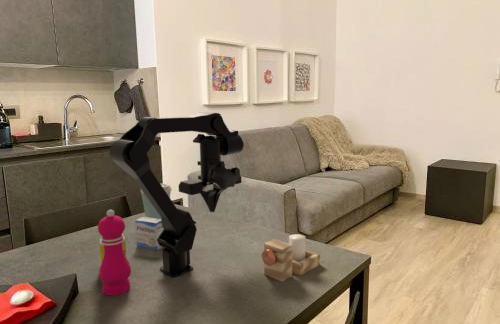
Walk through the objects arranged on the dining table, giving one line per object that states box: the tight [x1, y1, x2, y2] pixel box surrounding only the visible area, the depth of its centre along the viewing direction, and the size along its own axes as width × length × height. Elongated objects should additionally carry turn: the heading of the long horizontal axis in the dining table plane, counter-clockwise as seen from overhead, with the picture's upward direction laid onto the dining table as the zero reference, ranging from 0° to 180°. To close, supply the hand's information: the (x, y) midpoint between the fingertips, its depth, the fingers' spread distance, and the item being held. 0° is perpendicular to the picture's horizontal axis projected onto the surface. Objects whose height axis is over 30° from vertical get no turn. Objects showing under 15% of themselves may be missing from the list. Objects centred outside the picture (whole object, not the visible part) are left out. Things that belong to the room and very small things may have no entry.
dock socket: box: [263, 238, 321, 283], centre depth 103 cm, size 14×9×8 cm, turn 136°
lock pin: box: [261, 249, 277, 266], centre depth 99 cm, size 8×4×4 cm, turn 136°
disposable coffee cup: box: [140, 183, 172, 219], centre depth 137 cm, size 11×11×15 cm
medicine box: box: [134, 216, 164, 251], centre depth 119 cm, size 8×4×9 cm, turn 68°
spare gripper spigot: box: [288, 233, 307, 262], centre depth 105 cm, size 4×4×8 cm
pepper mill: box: [97, 209, 132, 296], centre depth 92 cm, size 7×7×20 cm
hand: (212, 211), depth 110 cm, fingers closed
